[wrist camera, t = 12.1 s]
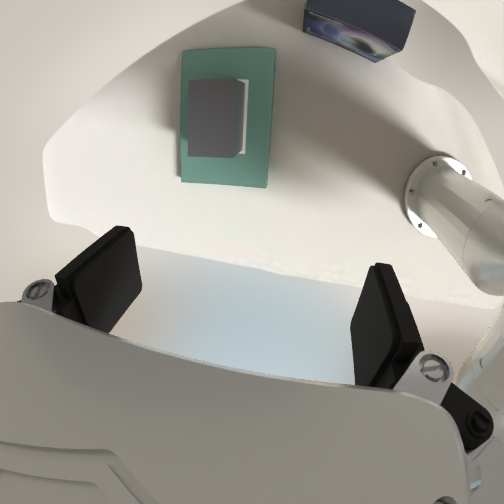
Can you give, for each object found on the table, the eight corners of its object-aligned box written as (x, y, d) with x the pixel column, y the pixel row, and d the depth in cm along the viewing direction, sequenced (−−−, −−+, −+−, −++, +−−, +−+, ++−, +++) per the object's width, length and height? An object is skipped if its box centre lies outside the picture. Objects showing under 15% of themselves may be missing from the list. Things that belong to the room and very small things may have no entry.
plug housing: (245, 83, 30) (235, 78, 25) (242, 150, 35) (232, 158, 30) (205, 83, 31) (188, 80, 26) (203, 148, 35) (187, 156, 30)
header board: (275, 50, 29) (274, 48, 27) (267, 185, 38) (265, 188, 37) (186, 52, 30) (182, 50, 29) (185, 179, 40) (181, 182, 38)
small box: (300, 34, 27) (300, 8, 18) (315, -2, 24) (319, -35, 15) (375, 65, 28) (402, 53, 18) (389, 29, 24) (418, 8, 15)
